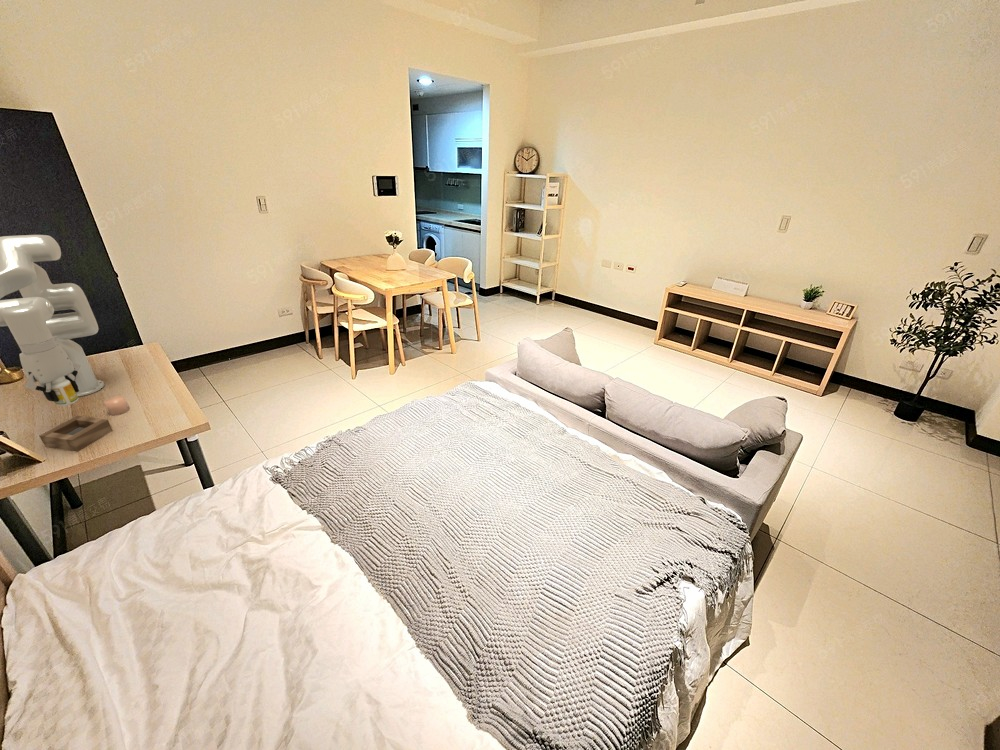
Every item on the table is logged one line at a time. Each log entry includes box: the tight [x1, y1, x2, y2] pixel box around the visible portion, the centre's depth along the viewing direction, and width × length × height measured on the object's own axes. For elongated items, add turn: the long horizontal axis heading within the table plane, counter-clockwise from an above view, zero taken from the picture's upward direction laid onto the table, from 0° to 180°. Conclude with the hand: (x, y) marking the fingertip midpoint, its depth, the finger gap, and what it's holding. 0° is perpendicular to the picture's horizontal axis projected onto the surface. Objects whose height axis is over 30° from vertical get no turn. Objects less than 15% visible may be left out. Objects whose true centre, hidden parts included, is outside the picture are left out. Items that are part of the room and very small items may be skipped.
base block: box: [38, 415, 114, 453], centre depth 140 cm, size 12×12×5 cm
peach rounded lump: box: [103, 395, 130, 416], centre depth 155 cm, size 6×6×5 cm
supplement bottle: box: [50, 376, 79, 407], centre depth 132 cm, size 5×5×10 cm
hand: (64, 395), depth 133 cm, fingers closed on supplement bottle, 5 cm apart
